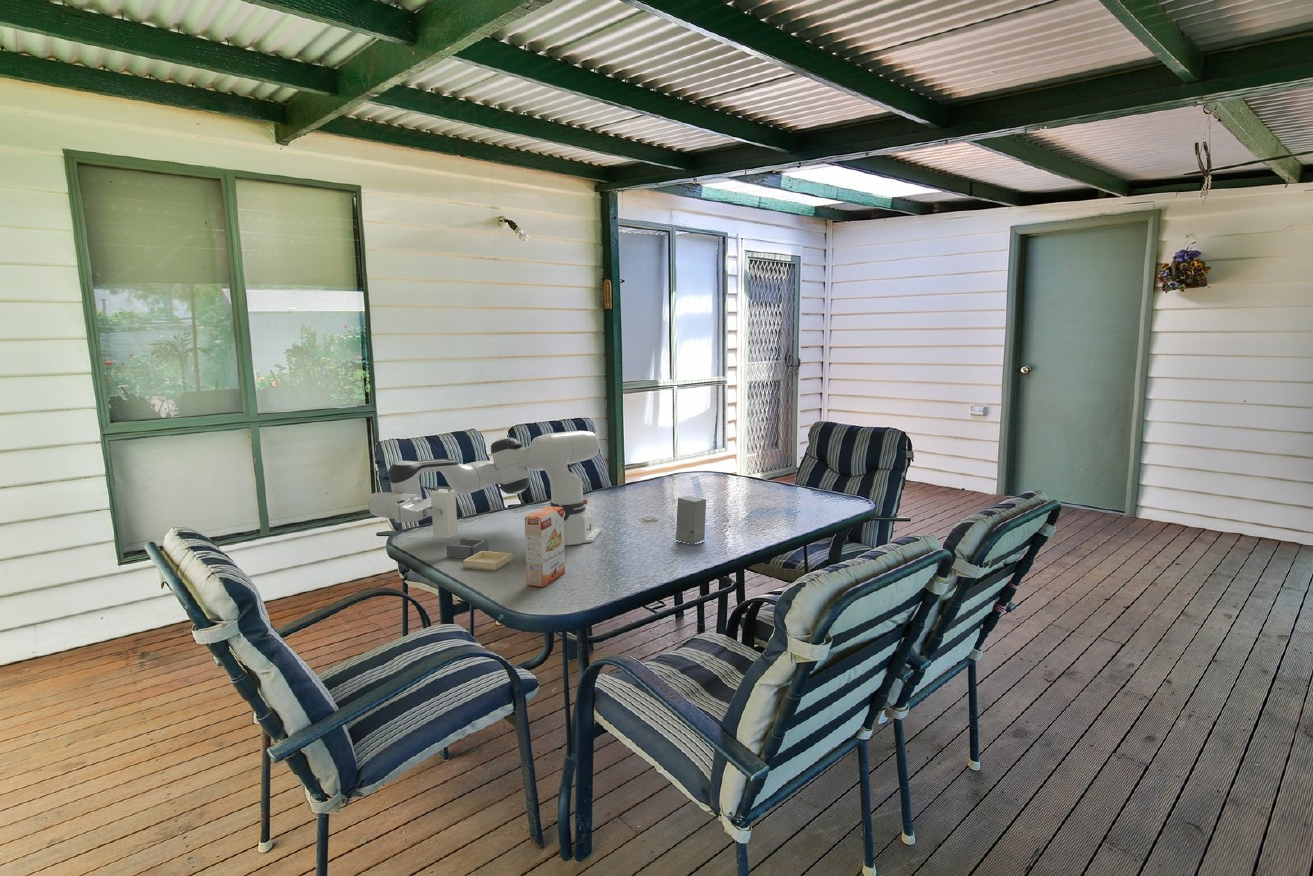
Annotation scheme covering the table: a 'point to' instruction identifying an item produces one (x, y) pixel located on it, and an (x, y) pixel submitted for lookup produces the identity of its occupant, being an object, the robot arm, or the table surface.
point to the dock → (467, 548)
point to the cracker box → (544, 546)
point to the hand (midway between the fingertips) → (446, 510)
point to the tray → (488, 560)
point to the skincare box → (690, 519)
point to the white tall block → (444, 512)
